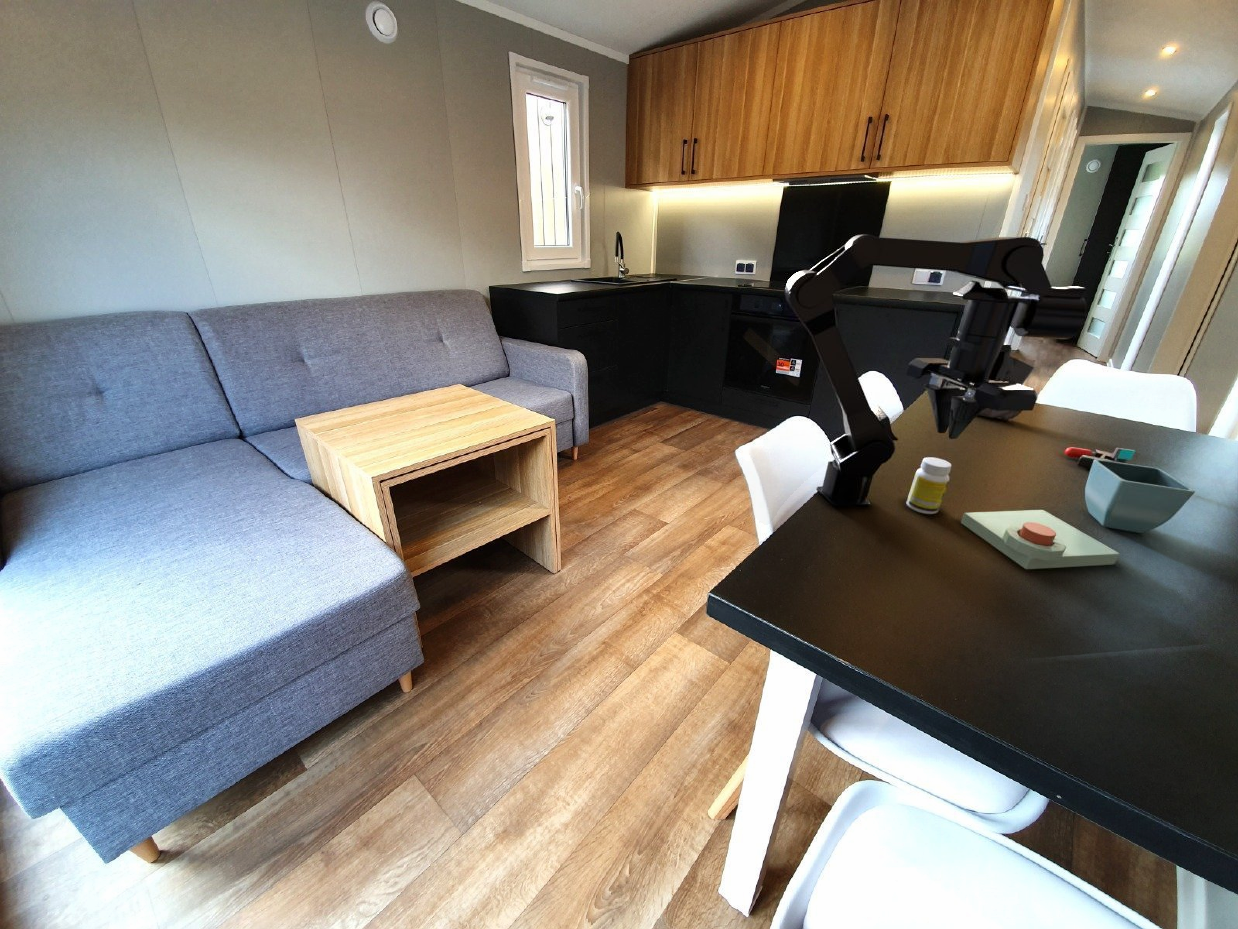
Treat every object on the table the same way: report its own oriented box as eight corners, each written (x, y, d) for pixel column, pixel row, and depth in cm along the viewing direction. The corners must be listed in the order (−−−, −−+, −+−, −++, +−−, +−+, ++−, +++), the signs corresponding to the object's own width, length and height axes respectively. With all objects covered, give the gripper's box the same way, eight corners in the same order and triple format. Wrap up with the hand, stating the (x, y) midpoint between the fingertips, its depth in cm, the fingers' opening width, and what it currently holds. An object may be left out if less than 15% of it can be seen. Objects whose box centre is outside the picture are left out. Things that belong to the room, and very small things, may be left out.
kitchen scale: (1025, 573, 66) (1035, 552, 65) (955, 523, 78) (963, 503, 76) (1119, 568, 68) (1131, 547, 66) (1038, 519, 79) (1046, 500, 78)
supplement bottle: (942, 516, 79) (959, 470, 76) (911, 512, 80) (926, 466, 76) (931, 502, 83) (947, 457, 80) (901, 498, 84) (916, 454, 81)
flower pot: (1132, 515, 82) (1159, 467, 78) (1166, 543, 74) (1198, 491, 70) (1069, 505, 84) (1092, 458, 80) (1095, 531, 76) (1122, 480, 73)
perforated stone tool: (947, 410, 130) (956, 384, 127) (952, 406, 134) (961, 381, 131) (1016, 425, 121) (1027, 398, 118) (1019, 420, 124) (1030, 394, 121)
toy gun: (1129, 463, 102) (1140, 442, 99) (1119, 479, 94) (1131, 456, 92) (1069, 448, 108) (1079, 428, 106) (1057, 462, 101) (1066, 440, 99)
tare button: (1034, 547, 66) (1039, 536, 65) (1012, 532, 69) (1017, 522, 69) (1058, 546, 67) (1063, 535, 66) (1034, 531, 70) (1039, 521, 69)
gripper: (1096, 348, 62) (1046, 459, 69) (981, 323, 79) (950, 415, 85) (1018, 347, 61) (975, 461, 67) (918, 322, 77) (891, 415, 84)
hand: (946, 435), depth 76 cm, fingers closed
